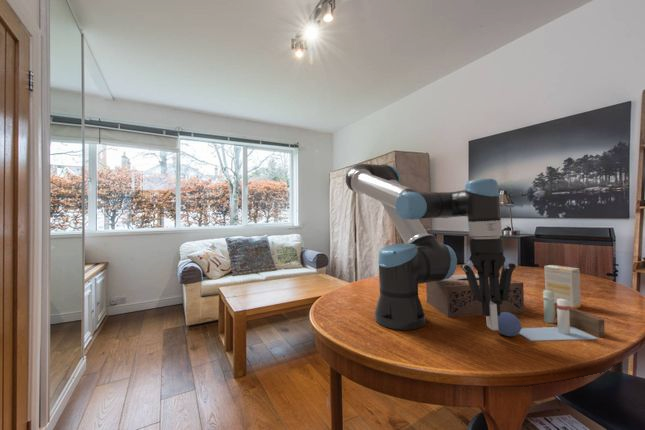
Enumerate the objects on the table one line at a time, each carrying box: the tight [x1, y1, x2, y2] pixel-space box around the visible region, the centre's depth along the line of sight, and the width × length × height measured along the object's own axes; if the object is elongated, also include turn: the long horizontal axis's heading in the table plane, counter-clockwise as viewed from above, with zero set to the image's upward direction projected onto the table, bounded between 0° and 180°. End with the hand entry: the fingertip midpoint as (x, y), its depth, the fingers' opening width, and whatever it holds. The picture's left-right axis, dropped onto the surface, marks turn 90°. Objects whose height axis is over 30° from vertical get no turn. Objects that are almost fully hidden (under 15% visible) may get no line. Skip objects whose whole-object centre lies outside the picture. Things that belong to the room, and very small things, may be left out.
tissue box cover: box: [425, 273, 525, 318], centre depth 93 cm, size 26×14×10 cm, turn 94°
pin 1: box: [542, 289, 556, 324], centre depth 78 cm, size 2×2×9 cm
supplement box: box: [543, 264, 582, 309], centre depth 92 cm, size 8×5×13 cm, turn 22°
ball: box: [497, 312, 522, 337], centre depth 71 cm, size 6×6×6 cm
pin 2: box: [556, 299, 571, 335], centre depth 71 cm, size 2×2×9 cm
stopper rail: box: [554, 303, 606, 338], centre depth 75 cm, size 2×13×4 cm, turn 0°
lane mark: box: [518, 326, 599, 342], centre depth 71 cm, size 17×7×1 cm, turn 90°
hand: (492, 328), depth 69 cm, fingers closed
